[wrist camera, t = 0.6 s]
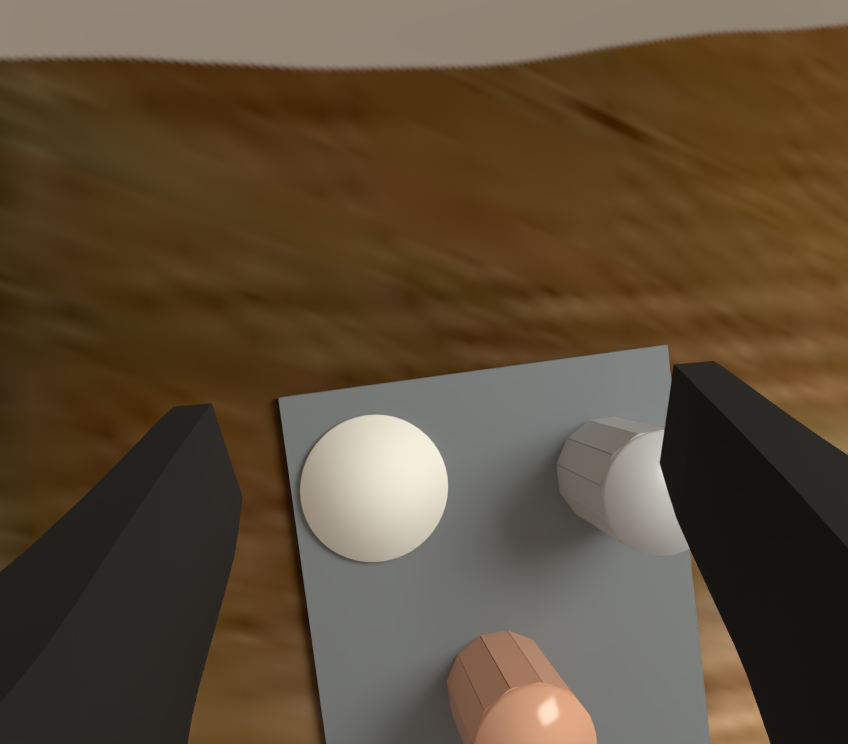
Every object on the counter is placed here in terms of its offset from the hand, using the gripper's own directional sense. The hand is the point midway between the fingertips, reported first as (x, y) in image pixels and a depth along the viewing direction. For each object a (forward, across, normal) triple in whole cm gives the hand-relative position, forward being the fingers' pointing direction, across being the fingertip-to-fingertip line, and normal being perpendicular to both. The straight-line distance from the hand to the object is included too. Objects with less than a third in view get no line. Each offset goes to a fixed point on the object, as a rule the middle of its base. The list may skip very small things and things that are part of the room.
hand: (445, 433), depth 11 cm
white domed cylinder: (+18, -8, +19) cm, 27 cm away
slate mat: (+15, -2, +23) cm, 27 cm away
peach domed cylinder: (+12, -2, +27) cm, 29 cm away
